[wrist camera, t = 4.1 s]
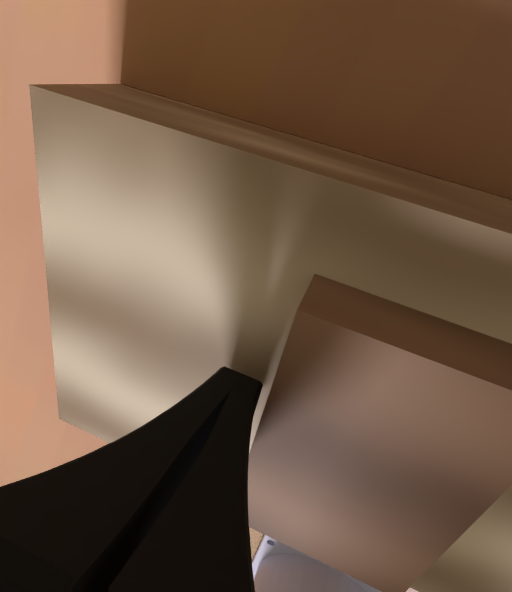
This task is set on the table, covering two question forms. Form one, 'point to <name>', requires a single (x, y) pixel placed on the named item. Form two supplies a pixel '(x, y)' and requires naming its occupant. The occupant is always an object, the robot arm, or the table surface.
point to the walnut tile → (380, 435)
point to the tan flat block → (242, 262)
